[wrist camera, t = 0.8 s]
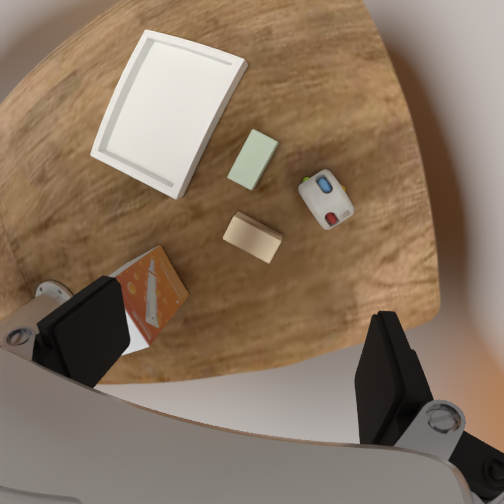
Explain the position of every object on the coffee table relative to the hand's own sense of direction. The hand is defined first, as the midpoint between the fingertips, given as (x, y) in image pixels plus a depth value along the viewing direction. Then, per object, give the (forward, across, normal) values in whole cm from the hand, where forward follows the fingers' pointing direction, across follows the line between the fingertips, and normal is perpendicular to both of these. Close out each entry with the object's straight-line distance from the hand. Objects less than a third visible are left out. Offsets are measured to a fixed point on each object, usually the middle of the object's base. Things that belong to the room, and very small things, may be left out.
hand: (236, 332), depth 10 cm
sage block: (+27, +4, -5) cm, 27 cm away
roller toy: (+27, -4, -1) cm, 27 cm away
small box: (+26, +17, +11) cm, 33 cm away
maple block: (+26, +4, +4) cm, 27 cm away
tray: (+26, +16, -11) cm, 32 cm away
